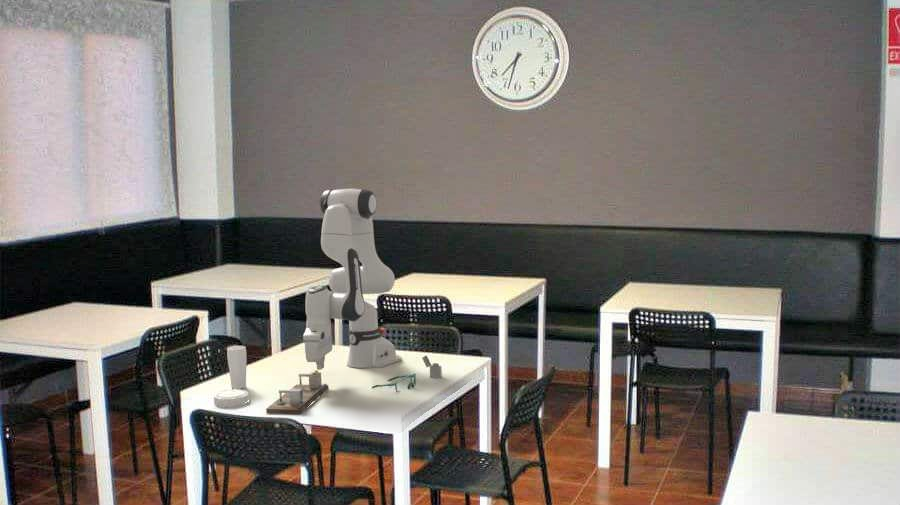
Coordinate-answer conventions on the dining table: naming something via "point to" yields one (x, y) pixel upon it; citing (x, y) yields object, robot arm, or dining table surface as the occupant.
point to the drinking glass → (237, 366)
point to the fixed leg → (299, 396)
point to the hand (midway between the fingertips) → (320, 368)
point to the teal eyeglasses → (399, 381)
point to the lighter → (433, 368)
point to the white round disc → (231, 398)
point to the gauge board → (286, 408)
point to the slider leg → (312, 379)
